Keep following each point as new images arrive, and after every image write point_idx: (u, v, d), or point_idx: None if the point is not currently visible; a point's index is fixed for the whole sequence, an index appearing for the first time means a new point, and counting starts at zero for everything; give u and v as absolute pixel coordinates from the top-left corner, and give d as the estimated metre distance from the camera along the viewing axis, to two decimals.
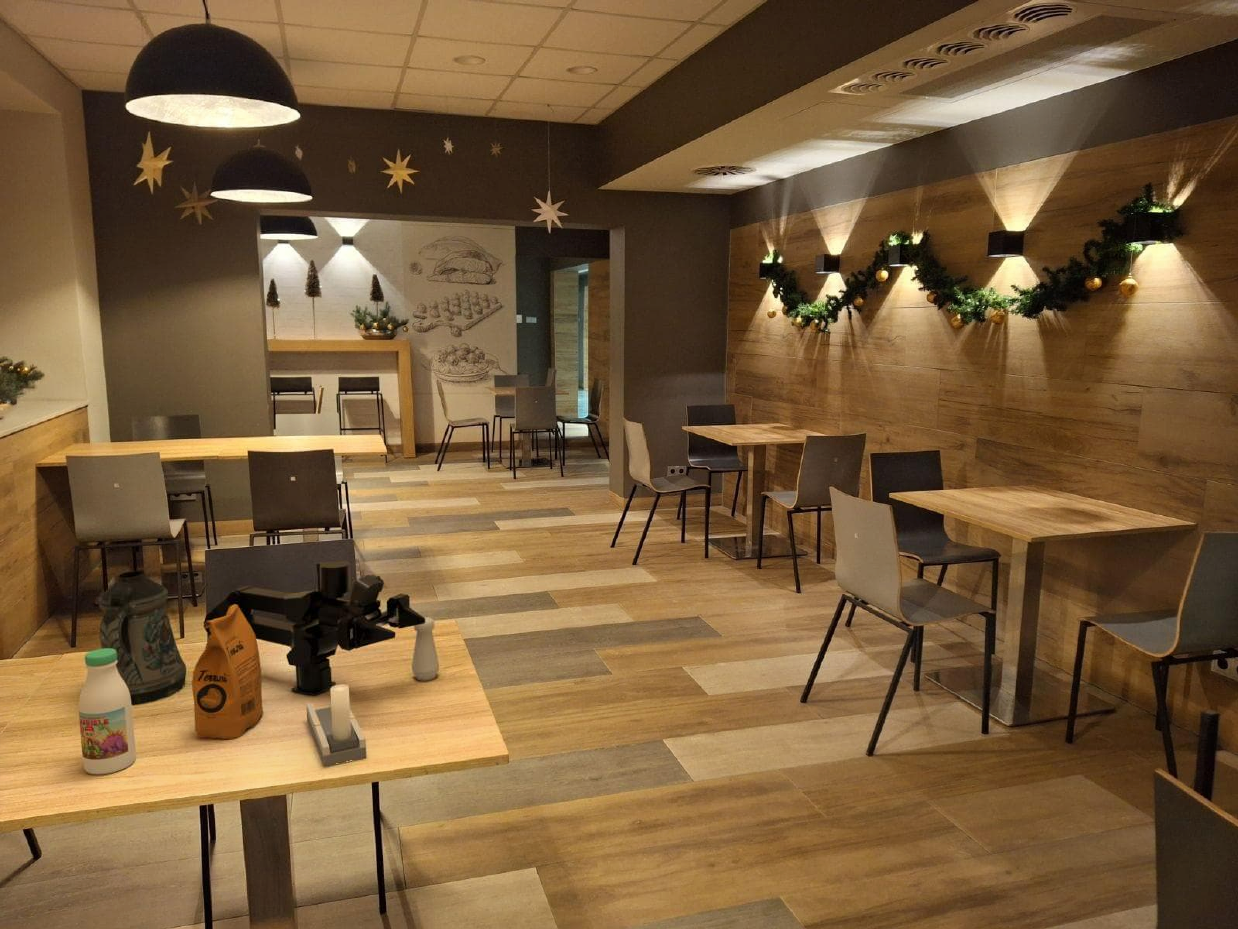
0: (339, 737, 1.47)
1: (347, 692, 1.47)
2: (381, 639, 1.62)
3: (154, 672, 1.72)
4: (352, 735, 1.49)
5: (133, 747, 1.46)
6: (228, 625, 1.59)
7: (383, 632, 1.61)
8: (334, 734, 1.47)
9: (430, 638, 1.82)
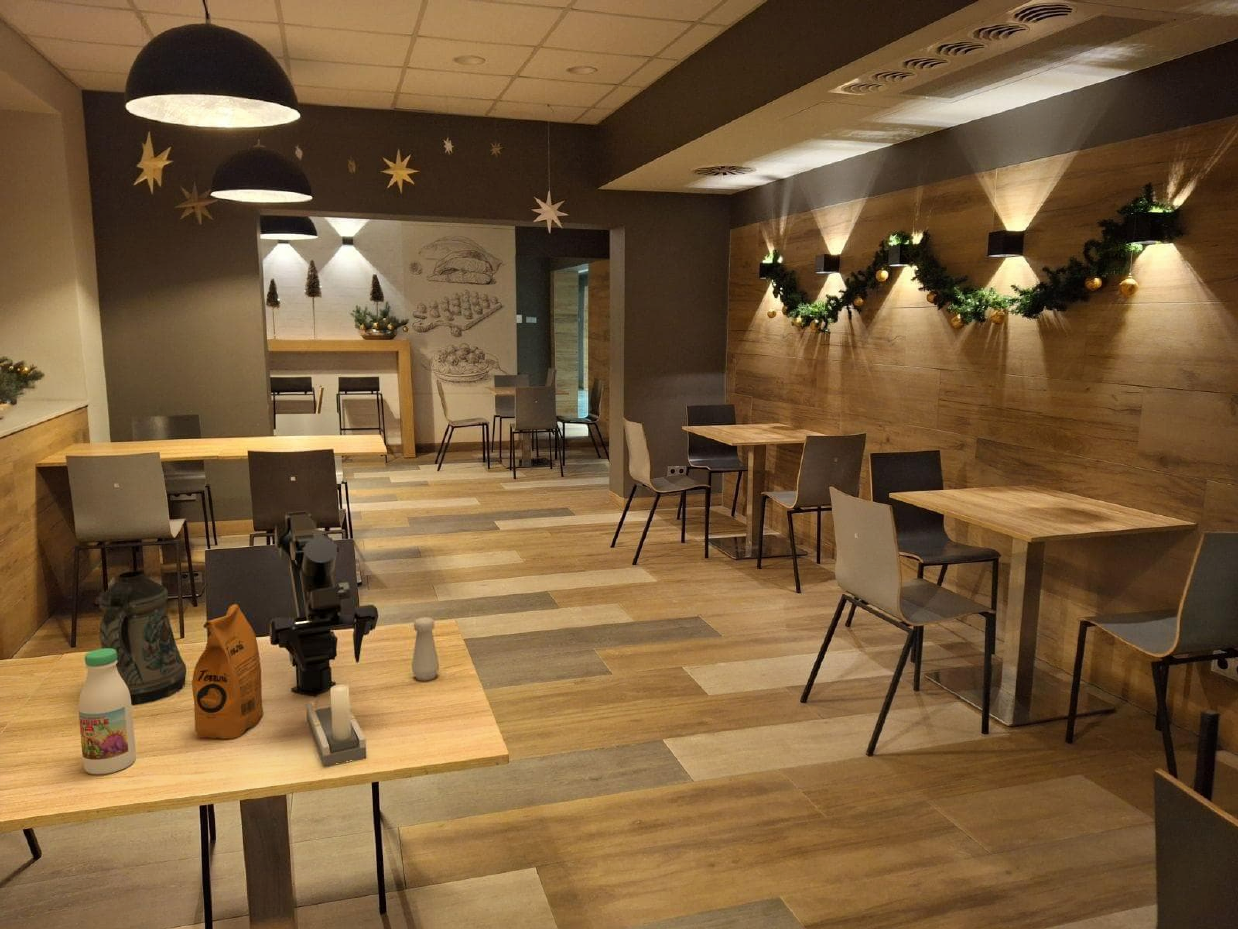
0: (339, 737, 1.47)
1: (347, 692, 1.47)
2: (297, 661, 1.53)
3: (154, 672, 1.72)
4: (352, 735, 1.49)
5: (133, 747, 1.46)
6: (228, 625, 1.59)
7: (298, 659, 1.52)
8: (334, 734, 1.47)
9: (430, 638, 1.82)
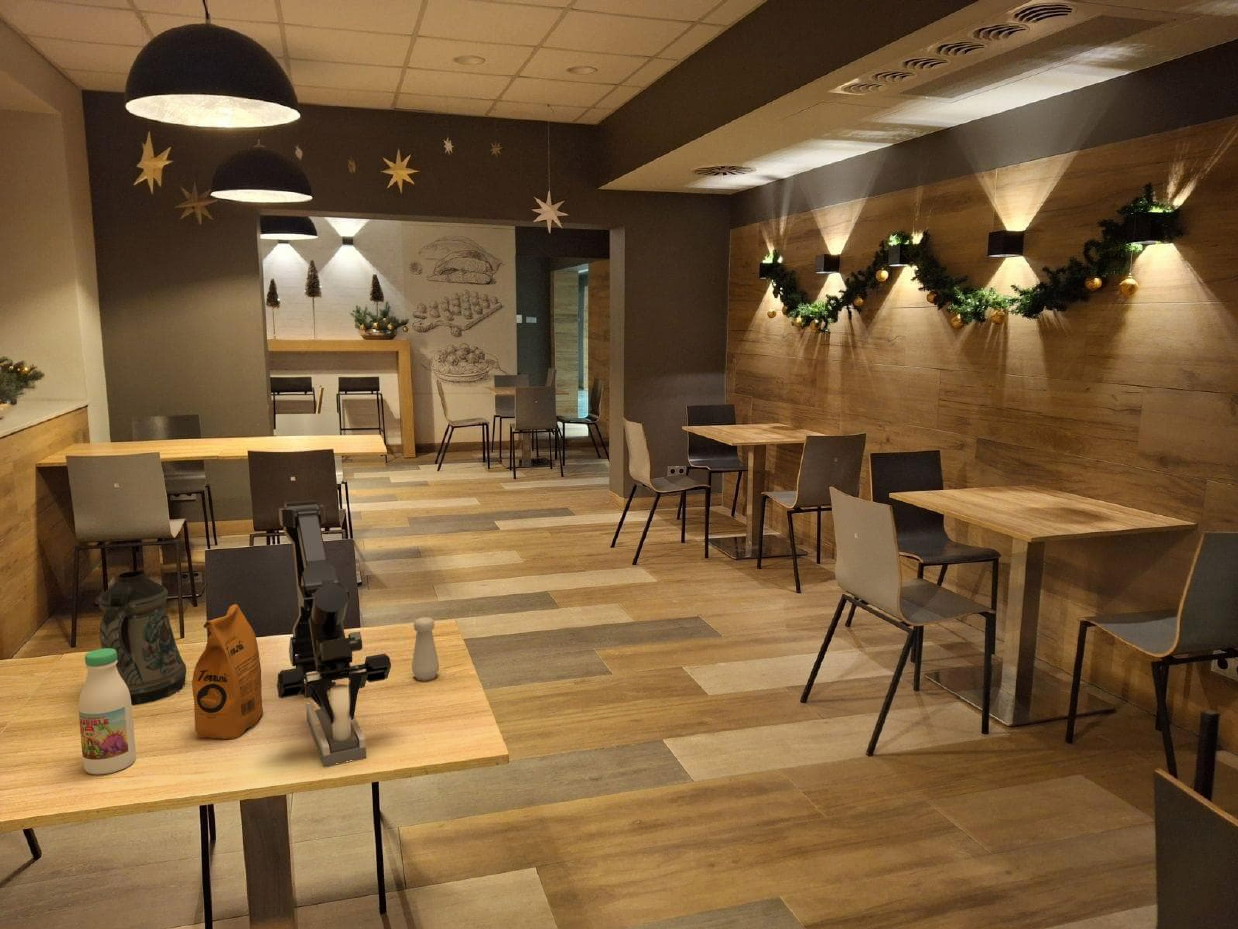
0: (339, 737, 1.47)
1: (347, 692, 1.47)
2: (324, 712, 1.47)
3: (154, 672, 1.72)
4: (352, 735, 1.49)
5: (133, 747, 1.46)
6: (228, 625, 1.59)
7: (325, 711, 1.46)
8: (334, 734, 1.47)
9: (430, 638, 1.82)
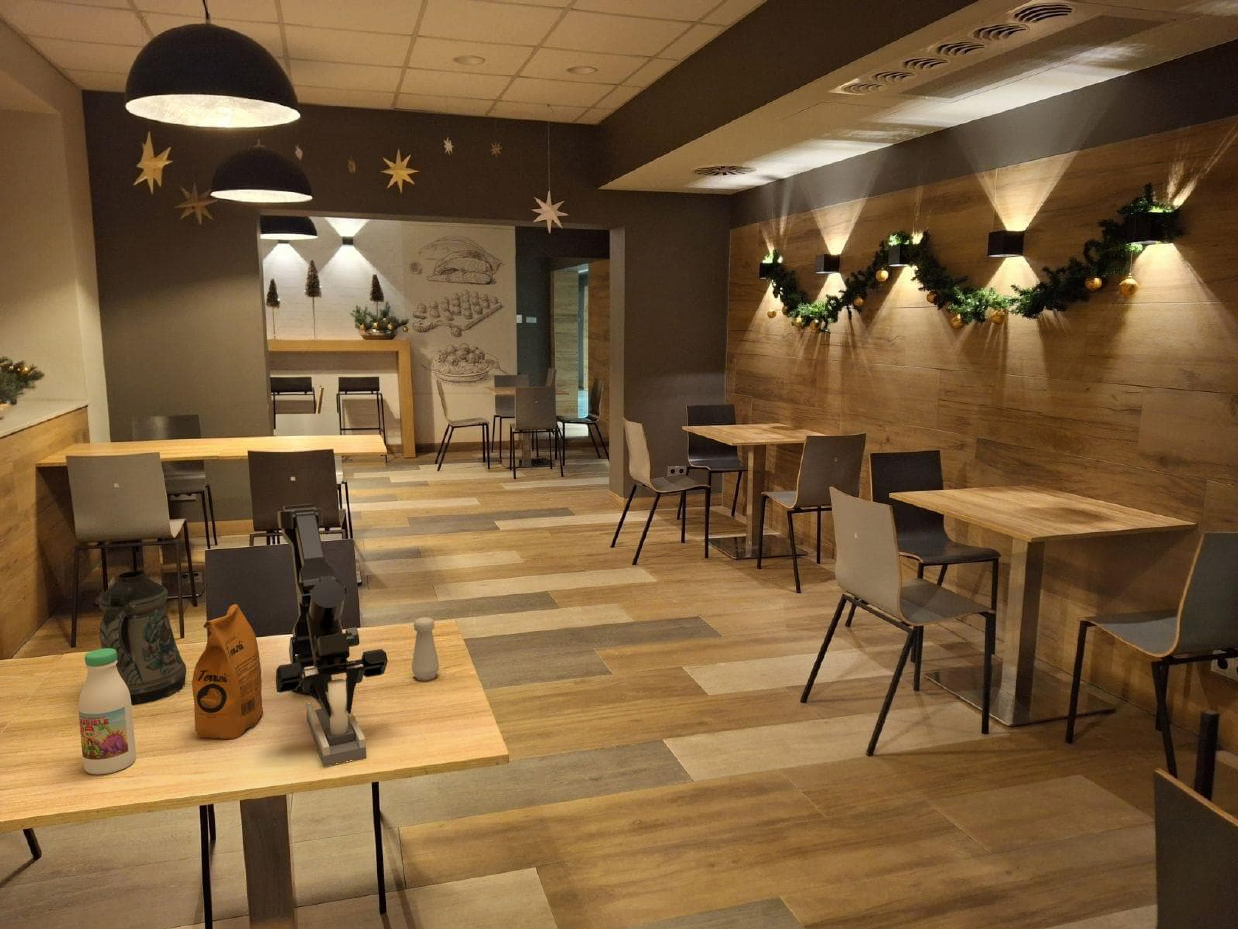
0: (336, 731, 1.49)
1: (344, 687, 1.49)
2: (321, 707, 1.50)
3: (154, 672, 1.72)
4: (349, 729, 1.51)
5: (133, 747, 1.46)
6: (228, 625, 1.59)
7: (323, 705, 1.48)
8: (332, 728, 1.49)
9: (430, 638, 1.82)
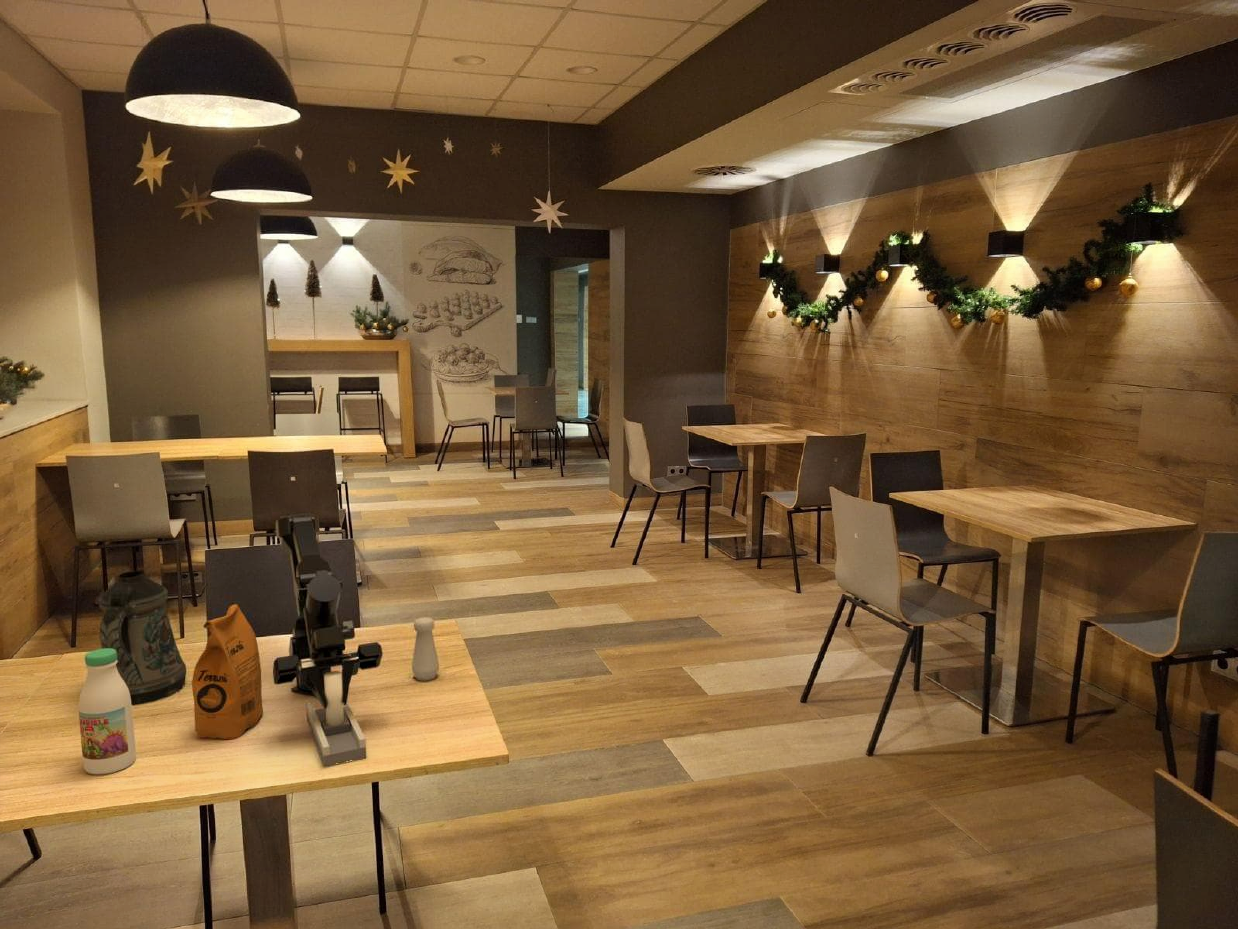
0: (332, 722, 1.53)
1: (340, 678, 1.53)
2: (318, 698, 1.53)
3: (154, 672, 1.72)
4: (345, 720, 1.55)
5: (133, 747, 1.46)
6: (228, 625, 1.59)
7: (319, 697, 1.52)
8: (328, 719, 1.53)
9: (430, 638, 1.82)
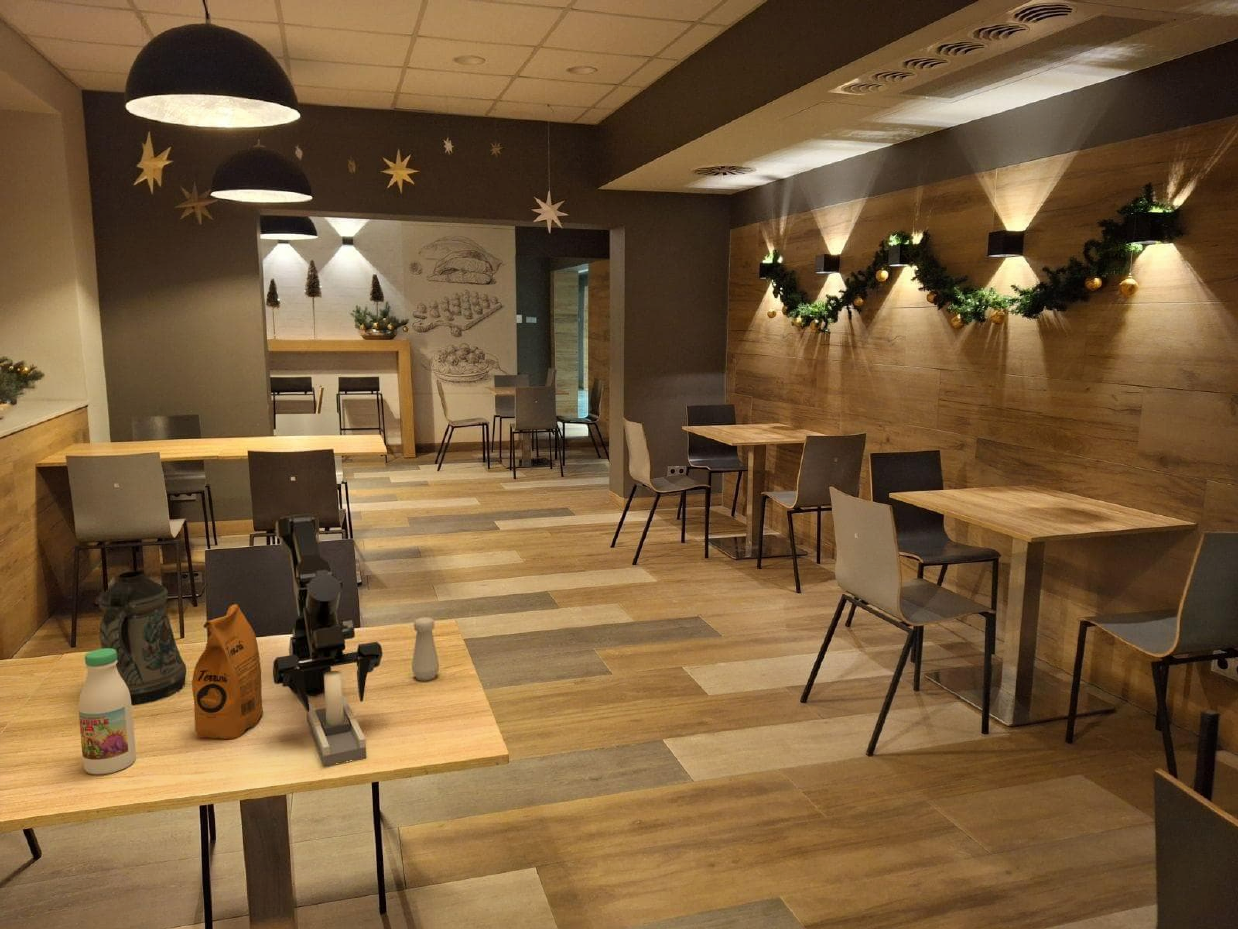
0: (332, 721, 1.53)
1: (340, 678, 1.53)
2: (300, 701, 1.52)
3: (154, 672, 1.72)
4: (345, 720, 1.55)
5: (133, 747, 1.46)
6: (228, 625, 1.59)
7: (302, 700, 1.51)
8: (328, 719, 1.53)
9: (430, 638, 1.82)
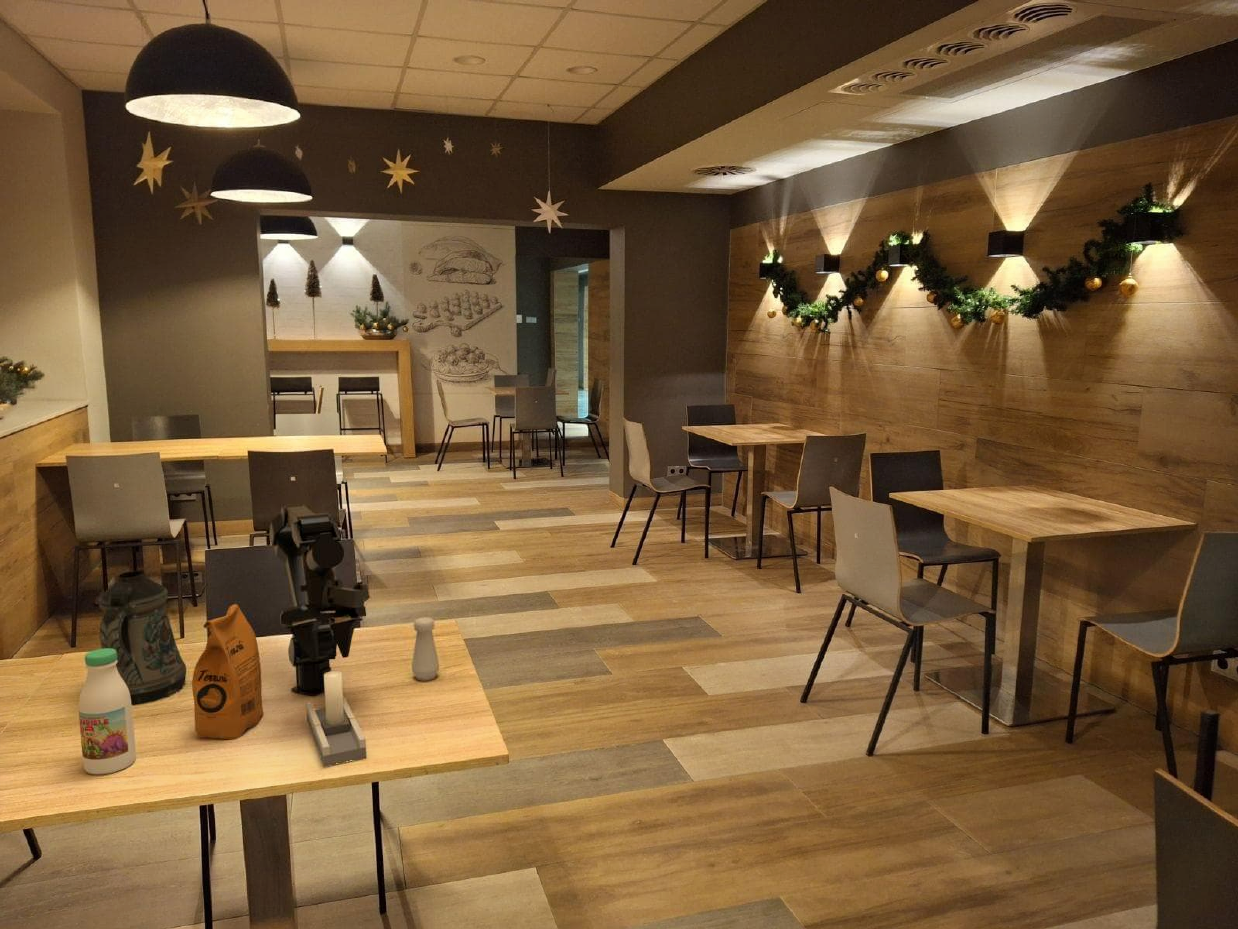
0: (332, 721, 1.53)
1: (340, 678, 1.53)
2: (305, 649, 1.57)
3: (154, 672, 1.72)
4: (345, 720, 1.55)
5: (133, 747, 1.46)
6: (228, 625, 1.59)
7: (313, 649, 1.57)
8: (328, 719, 1.53)
9: (430, 638, 1.82)
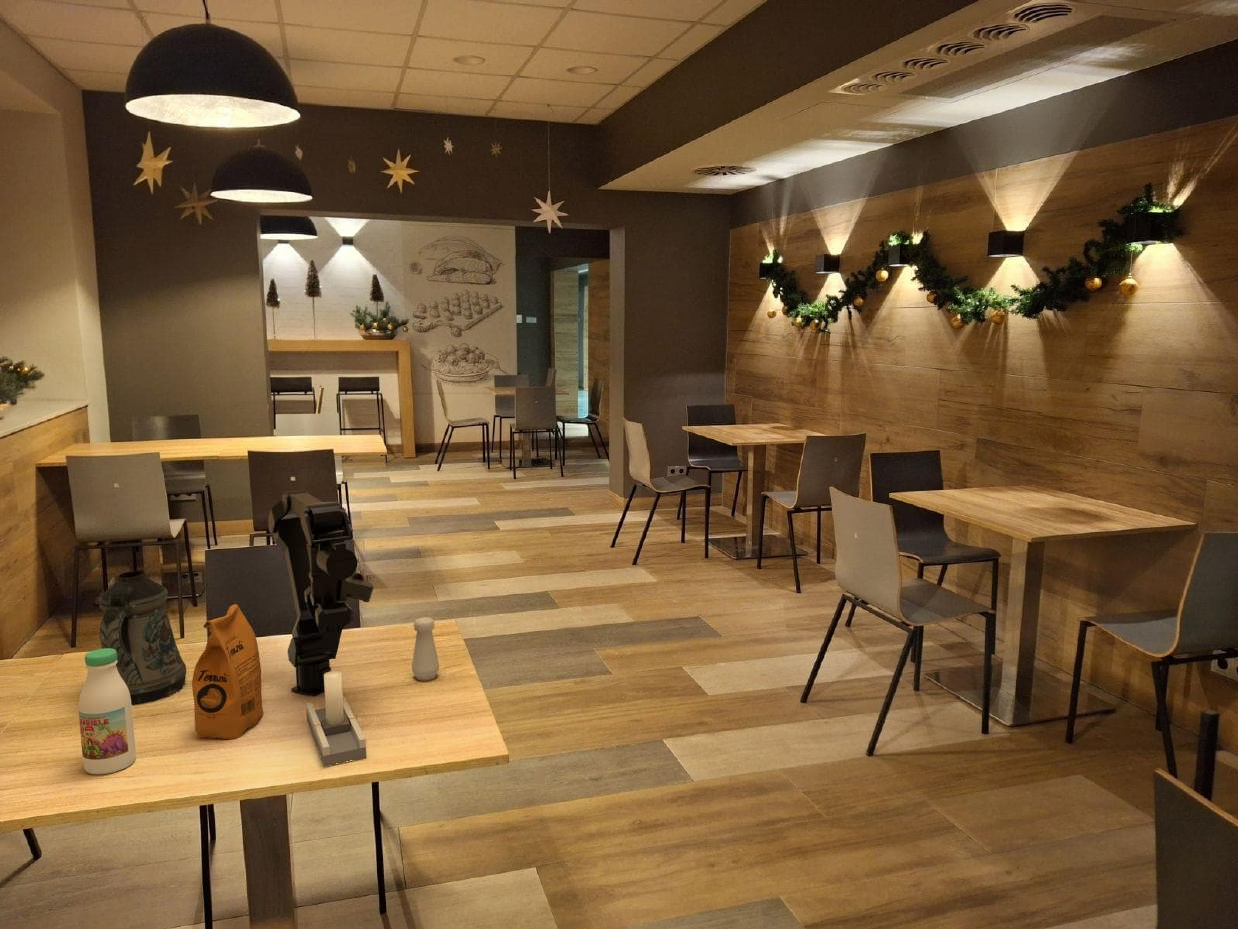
0: (332, 721, 1.53)
1: (340, 678, 1.53)
2: (328, 643, 1.60)
3: (154, 672, 1.72)
4: (345, 720, 1.55)
5: (133, 747, 1.46)
6: (228, 625, 1.59)
7: (336, 644, 1.61)
8: (328, 719, 1.53)
9: (430, 638, 1.82)
